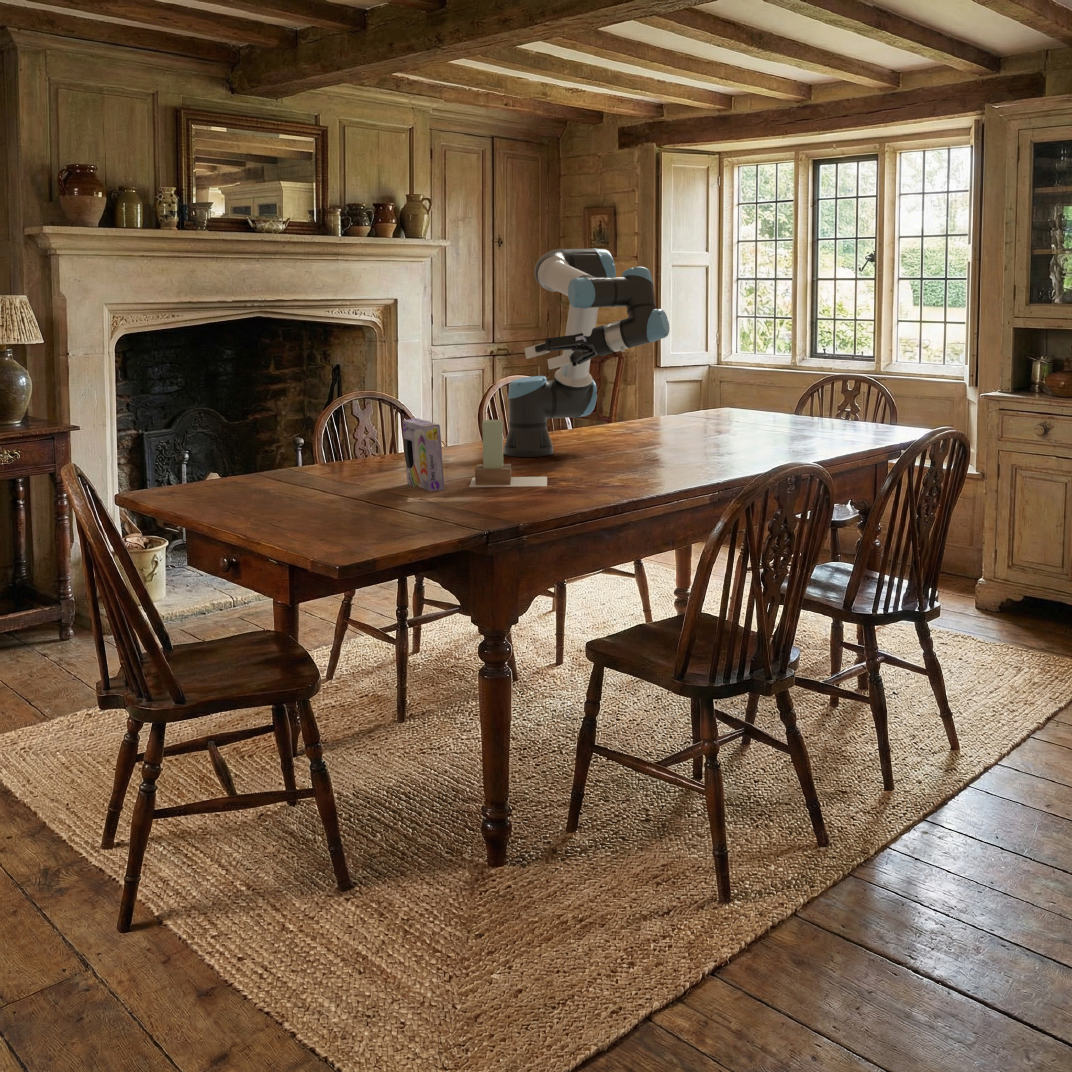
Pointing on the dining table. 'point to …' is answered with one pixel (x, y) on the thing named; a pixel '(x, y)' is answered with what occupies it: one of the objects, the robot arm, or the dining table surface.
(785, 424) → the dining table surface
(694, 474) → the dining table surface
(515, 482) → the build board
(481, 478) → the base block
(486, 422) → the pillar
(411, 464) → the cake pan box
